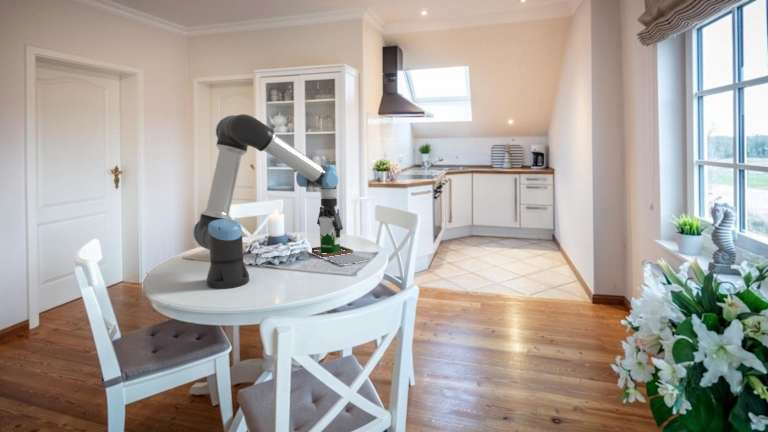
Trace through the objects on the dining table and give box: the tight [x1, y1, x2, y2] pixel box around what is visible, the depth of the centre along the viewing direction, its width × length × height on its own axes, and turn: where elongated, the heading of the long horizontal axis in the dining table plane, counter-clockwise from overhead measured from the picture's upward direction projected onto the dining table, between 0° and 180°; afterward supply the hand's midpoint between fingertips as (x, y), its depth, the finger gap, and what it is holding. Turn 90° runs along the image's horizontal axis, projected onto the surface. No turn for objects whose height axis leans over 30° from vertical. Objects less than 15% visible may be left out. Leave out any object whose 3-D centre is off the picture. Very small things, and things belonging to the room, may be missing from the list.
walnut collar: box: [311, 245, 354, 257], centre depth 212 cm, size 16×16×2 cm
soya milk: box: [319, 216, 341, 254], centre depth 211 cm, size 9×9×20 cm
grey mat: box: [327, 253, 370, 265], centre depth 198 cm, size 14×14×1 cm
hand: (329, 241), depth 211 cm, fingers open, 13 cm apart
